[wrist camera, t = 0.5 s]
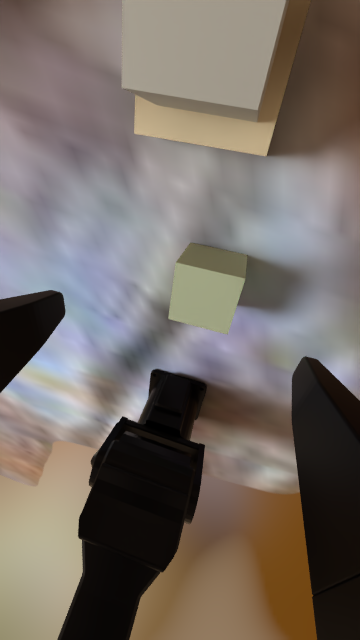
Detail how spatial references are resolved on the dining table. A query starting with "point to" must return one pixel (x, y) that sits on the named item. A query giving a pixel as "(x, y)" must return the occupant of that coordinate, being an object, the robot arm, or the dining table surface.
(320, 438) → the robot arm
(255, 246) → the dining table surface
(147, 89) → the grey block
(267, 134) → the beech slab
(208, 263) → the sage cube
